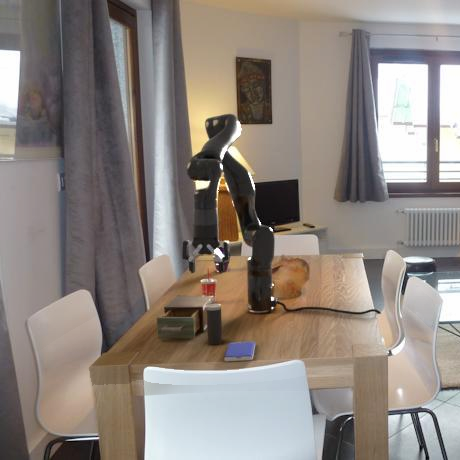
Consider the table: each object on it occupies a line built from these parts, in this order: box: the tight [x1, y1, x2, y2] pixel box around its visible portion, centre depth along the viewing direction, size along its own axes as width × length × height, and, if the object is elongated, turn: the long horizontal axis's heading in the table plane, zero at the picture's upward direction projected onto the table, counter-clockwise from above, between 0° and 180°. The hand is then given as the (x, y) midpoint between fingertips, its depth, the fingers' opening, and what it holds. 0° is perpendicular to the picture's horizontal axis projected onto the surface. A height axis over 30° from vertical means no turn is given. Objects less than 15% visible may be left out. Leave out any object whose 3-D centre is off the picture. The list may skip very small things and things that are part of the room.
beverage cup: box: [200, 267, 218, 304], centre depth 248 cm, size 6×6×14 cm
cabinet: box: [163, 294, 215, 333], centre depth 220 cm, size 15×13×9 cm
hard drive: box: [224, 341, 256, 362], centre depth 195 cm, size 2×8×12 cm
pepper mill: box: [206, 303, 223, 346], centre depth 203 cm, size 4×4×12 cm
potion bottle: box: [212, 245, 231, 273], centre depth 302 cm, size 9×9×12 cm
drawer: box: [156, 310, 201, 339], centre depth 208 cm, size 18×12×7 cm, turn 4°
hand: (206, 272), depth 199 cm, fingers open, 8 cm apart
